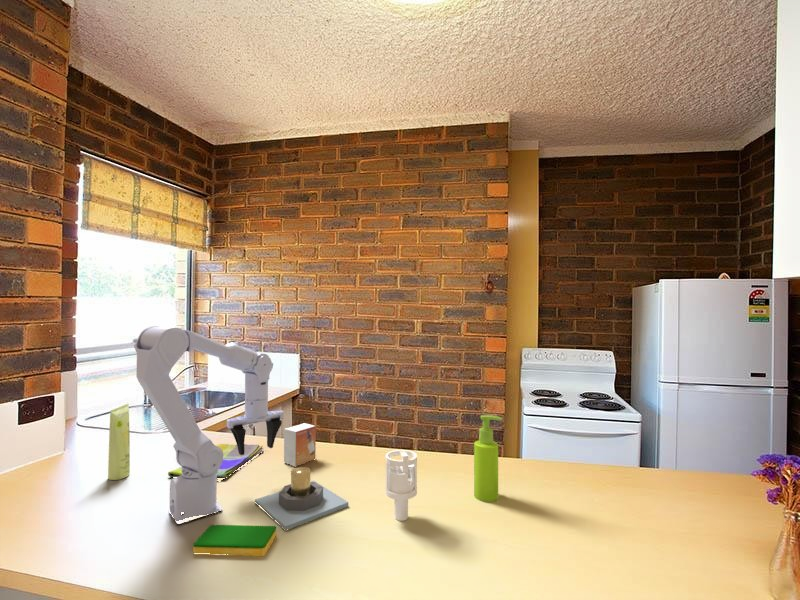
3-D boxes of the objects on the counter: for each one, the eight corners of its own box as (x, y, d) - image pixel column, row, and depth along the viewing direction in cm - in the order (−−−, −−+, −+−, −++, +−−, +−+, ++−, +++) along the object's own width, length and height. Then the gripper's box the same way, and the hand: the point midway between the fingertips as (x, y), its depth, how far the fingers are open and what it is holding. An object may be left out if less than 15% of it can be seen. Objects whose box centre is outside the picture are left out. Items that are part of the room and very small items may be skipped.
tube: (132, 477, 112) (132, 406, 113) (109, 483, 109) (110, 409, 109) (127, 471, 117) (128, 403, 117) (106, 476, 113) (106, 405, 113)
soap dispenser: (503, 503, 98) (503, 420, 99) (474, 500, 100) (473, 418, 100) (502, 492, 104) (501, 413, 104) (474, 490, 105) (474, 412, 106)
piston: (296, 506, 94) (296, 476, 94) (287, 500, 98) (287, 470, 98) (313, 500, 97) (313, 471, 97) (304, 494, 101) (304, 465, 101)
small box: (295, 467, 120) (295, 431, 120) (283, 463, 123) (283, 428, 123) (316, 459, 126) (316, 425, 126) (304, 455, 129) (304, 422, 130)
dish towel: (164, 480, 112) (164, 470, 112) (216, 449, 136) (216, 441, 136) (223, 484, 110) (223, 474, 110) (265, 452, 134) (265, 444, 134)
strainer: (389, 527, 87) (389, 457, 88) (382, 511, 94) (382, 446, 94) (421, 523, 89) (421, 454, 89) (411, 507, 96) (411, 443, 96)
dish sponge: (210, 535, 85) (210, 524, 85) (276, 537, 84) (276, 525, 84) (192, 557, 78) (192, 544, 78) (264, 558, 77) (264, 545, 77)
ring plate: (285, 531, 86) (285, 514, 86) (254, 503, 98) (254, 488, 98) (348, 506, 97) (348, 491, 97) (313, 484, 108) (313, 471, 109)
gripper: (233, 405, 100) (233, 461, 100) (289, 397, 109) (288, 448, 109) (224, 400, 105) (223, 453, 105) (277, 392, 115) (277, 441, 114)
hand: (256, 450), depth 107 cm, fingers open, 7 cm apart
